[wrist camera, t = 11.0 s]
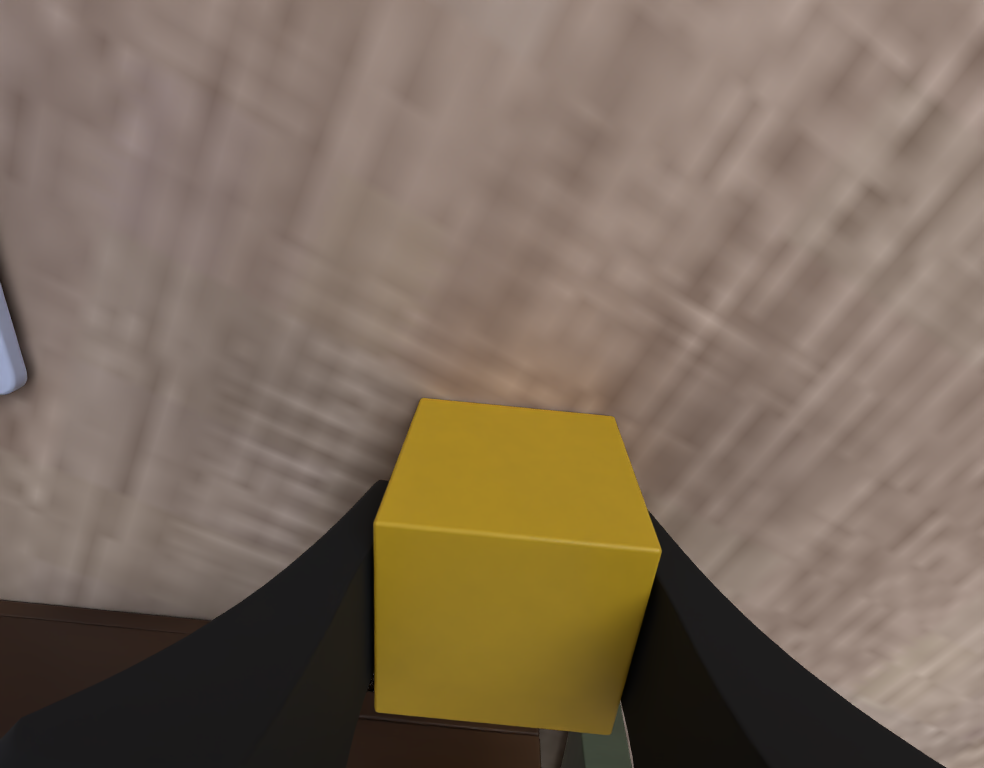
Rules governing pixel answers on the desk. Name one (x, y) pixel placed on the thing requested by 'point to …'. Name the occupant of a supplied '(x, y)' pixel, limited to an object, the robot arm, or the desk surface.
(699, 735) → the robot arm
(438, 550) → the block
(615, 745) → the drawer
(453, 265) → the desk surface
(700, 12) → the desk surface
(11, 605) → the cabinet
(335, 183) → the desk surface
